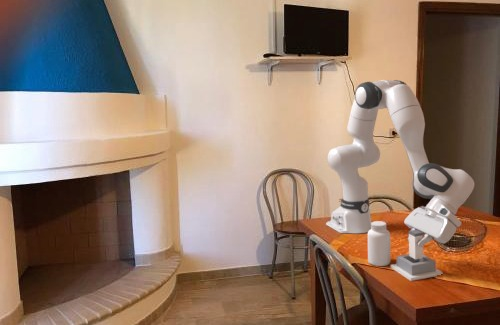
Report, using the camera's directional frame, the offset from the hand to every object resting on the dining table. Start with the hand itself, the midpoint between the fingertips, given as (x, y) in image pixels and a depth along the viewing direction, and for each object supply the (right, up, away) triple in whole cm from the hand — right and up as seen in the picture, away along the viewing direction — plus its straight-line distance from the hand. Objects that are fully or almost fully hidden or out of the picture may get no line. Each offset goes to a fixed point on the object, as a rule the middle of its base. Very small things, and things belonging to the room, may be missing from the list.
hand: (414, 243), depth 148 cm
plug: (+1, -5, +1) cm, 5 cm away
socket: (+1, -10, +2) cm, 10 cm away
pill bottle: (-8, -9, +11) cm, 17 cm away
